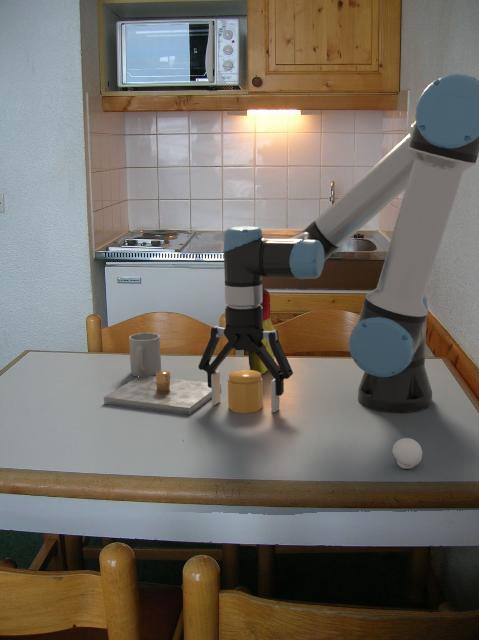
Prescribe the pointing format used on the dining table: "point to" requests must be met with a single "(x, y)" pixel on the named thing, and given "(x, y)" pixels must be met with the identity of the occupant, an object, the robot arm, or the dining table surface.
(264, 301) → the bottle
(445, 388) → the dining table surface
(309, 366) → the dining table surface
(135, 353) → the cup
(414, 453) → the mushroom
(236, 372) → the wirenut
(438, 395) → the dining table surface
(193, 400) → the plate
